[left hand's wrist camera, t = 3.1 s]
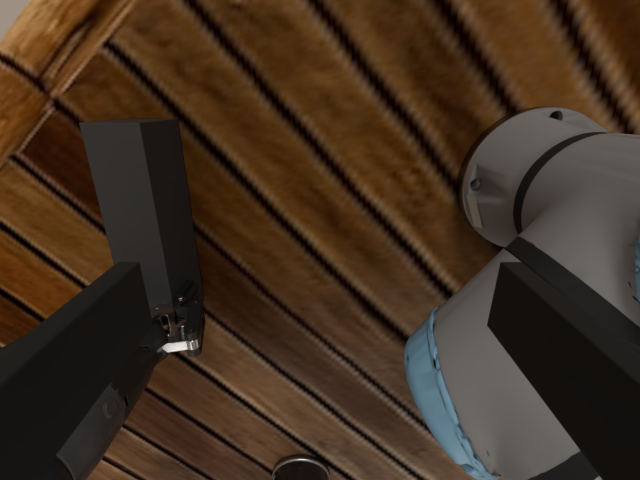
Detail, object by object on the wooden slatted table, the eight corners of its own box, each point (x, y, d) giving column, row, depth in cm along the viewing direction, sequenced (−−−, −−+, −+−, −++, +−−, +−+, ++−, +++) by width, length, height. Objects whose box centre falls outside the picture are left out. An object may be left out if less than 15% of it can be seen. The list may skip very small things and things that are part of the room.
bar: (130, 118, 36) (78, 122, 28) (177, 118, 36) (139, 122, 28) (165, 300, 44) (132, 341, 37) (204, 300, 44) (179, 341, 37)
